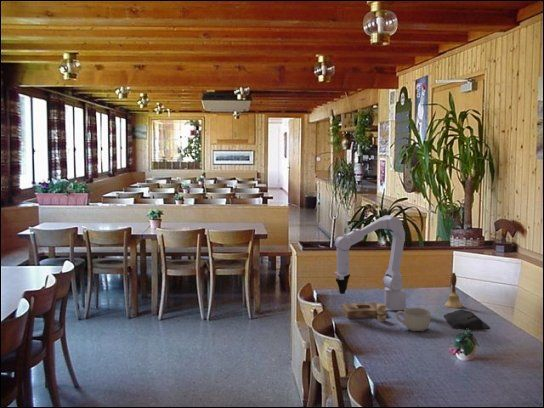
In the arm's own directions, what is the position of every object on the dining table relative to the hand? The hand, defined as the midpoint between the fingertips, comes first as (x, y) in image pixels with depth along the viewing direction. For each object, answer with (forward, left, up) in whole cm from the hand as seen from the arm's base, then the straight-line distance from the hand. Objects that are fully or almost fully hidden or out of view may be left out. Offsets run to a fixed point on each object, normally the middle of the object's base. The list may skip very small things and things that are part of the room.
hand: (343, 291), depth 275 cm
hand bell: (-54, -5, -10) cm, 55 cm away
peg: (-14, +15, -10) cm, 23 cm away
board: (-9, +2, -10) cm, 14 cm away
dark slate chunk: (-49, +22, -11) cm, 55 cm away
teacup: (-24, +29, -10) cm, 39 cm away
